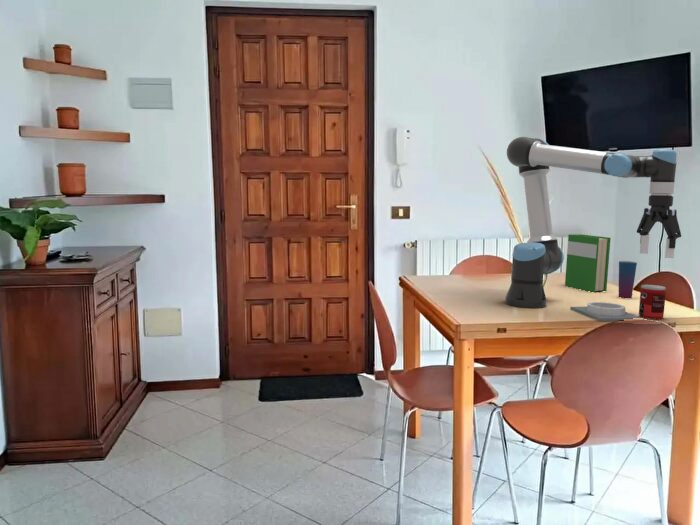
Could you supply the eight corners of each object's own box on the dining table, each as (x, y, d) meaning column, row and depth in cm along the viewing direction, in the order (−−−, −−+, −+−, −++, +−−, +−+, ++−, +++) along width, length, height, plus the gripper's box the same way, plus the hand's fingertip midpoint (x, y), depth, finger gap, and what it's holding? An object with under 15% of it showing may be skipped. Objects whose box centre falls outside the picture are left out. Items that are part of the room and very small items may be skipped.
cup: (635, 299, 248) (638, 263, 246) (618, 298, 249) (621, 262, 247) (631, 296, 255) (634, 261, 253) (614, 295, 256) (617, 260, 254)
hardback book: (606, 292, 265) (610, 237, 262) (593, 292, 262) (597, 237, 259) (577, 285, 281) (581, 234, 278) (564, 286, 278) (568, 234, 275)
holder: (600, 321, 204) (601, 311, 204) (570, 309, 224) (571, 300, 223) (643, 320, 207) (644, 310, 206) (610, 309, 226) (610, 299, 226)
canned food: (641, 313, 219) (644, 283, 218) (665, 317, 214) (668, 286, 213) (635, 316, 213) (638, 286, 212) (660, 320, 208) (663, 289, 207)
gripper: (696, 195, 197) (690, 260, 200) (647, 194, 221) (643, 251, 224) (676, 195, 196) (670, 259, 198) (629, 194, 220) (624, 251, 223)
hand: (656, 255), depth 211 cm, fingers open, 13 cm apart
